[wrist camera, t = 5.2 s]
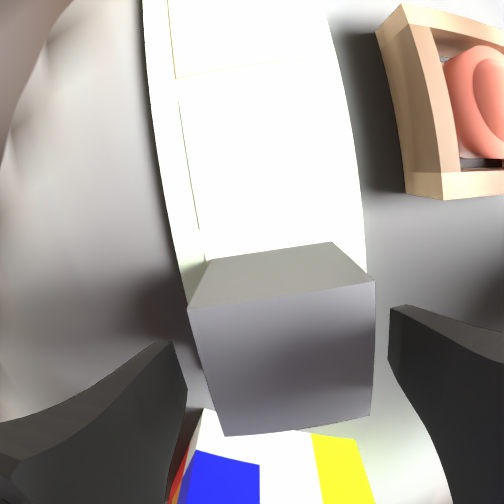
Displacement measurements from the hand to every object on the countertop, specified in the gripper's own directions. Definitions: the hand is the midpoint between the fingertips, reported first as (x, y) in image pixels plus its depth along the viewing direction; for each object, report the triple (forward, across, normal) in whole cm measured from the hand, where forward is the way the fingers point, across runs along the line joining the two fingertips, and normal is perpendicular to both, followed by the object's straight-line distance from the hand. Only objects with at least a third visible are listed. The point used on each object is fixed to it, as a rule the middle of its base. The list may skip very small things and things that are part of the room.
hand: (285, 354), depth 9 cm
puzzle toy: (+5, +3, +13) cm, 14 cm away
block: (+4, 0, 0) cm, 4 cm away
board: (+5, 0, -6) cm, 8 cm away
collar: (+5, -11, -8) cm, 14 cm away
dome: (+4, -11, -8) cm, 14 cm away
